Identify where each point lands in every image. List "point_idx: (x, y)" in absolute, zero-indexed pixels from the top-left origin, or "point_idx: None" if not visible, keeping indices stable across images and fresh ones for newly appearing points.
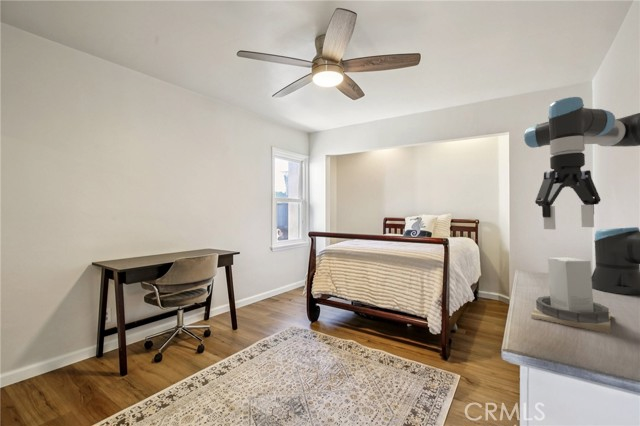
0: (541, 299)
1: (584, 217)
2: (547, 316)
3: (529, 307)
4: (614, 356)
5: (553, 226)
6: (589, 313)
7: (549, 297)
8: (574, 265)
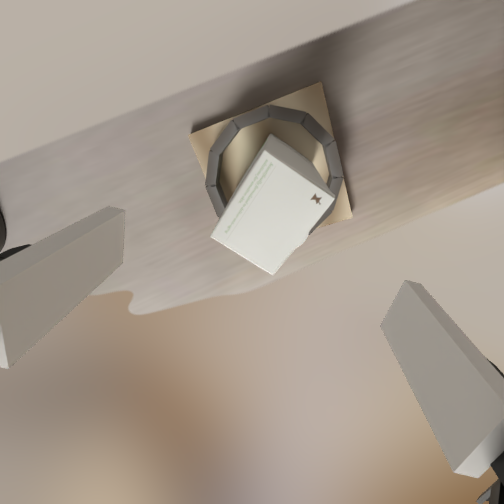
0: None
1: (86, 278)
2: (343, 191)
3: None
4: (463, 16)
5: (427, 293)
6: (318, 123)
7: None
8: (313, 178)
